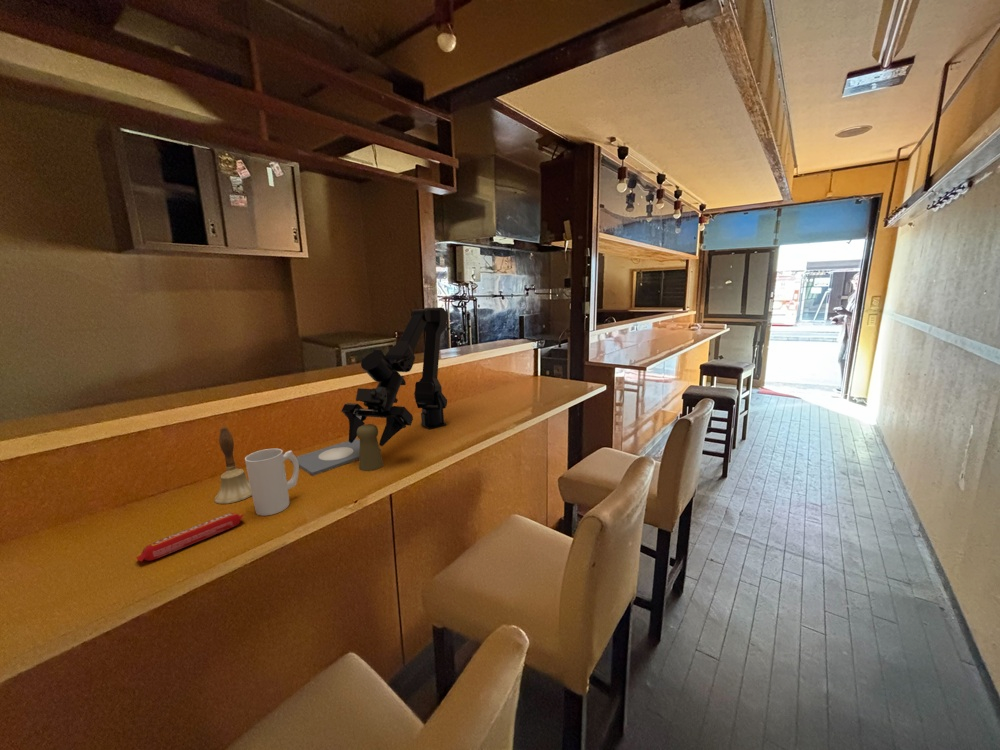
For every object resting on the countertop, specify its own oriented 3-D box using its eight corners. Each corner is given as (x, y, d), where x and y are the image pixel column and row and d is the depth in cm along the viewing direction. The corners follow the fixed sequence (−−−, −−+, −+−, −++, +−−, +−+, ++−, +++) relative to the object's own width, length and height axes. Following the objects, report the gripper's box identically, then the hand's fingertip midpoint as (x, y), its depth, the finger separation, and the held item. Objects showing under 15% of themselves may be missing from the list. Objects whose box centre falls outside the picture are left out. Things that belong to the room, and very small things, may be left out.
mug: (264, 520, 80) (254, 464, 77) (248, 511, 83) (238, 457, 81) (311, 498, 88) (304, 446, 85) (294, 490, 91) (286, 441, 89)
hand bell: (205, 501, 88) (191, 432, 85) (241, 484, 96) (229, 420, 93) (231, 506, 85) (217, 436, 82) (266, 489, 93) (254, 423, 90)
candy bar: (240, 519, 81) (238, 505, 80) (247, 525, 79) (244, 511, 78) (136, 561, 69) (132, 546, 68) (141, 570, 67) (137, 554, 66)
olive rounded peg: (361, 473, 99) (356, 431, 97) (357, 464, 105) (352, 424, 102) (385, 467, 102) (381, 426, 100) (380, 459, 107) (376, 420, 105)
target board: (355, 440, 122) (355, 438, 122) (380, 451, 113) (380, 448, 112) (290, 461, 108) (290, 458, 108) (312, 475, 99) (312, 472, 99)
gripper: (341, 373, 105) (315, 427, 97) (402, 375, 99) (380, 433, 91) (364, 395, 114) (342, 445, 106) (421, 398, 108) (402, 452, 100)
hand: (365, 443), depth 101 cm, fingers open, 9 cm apart
